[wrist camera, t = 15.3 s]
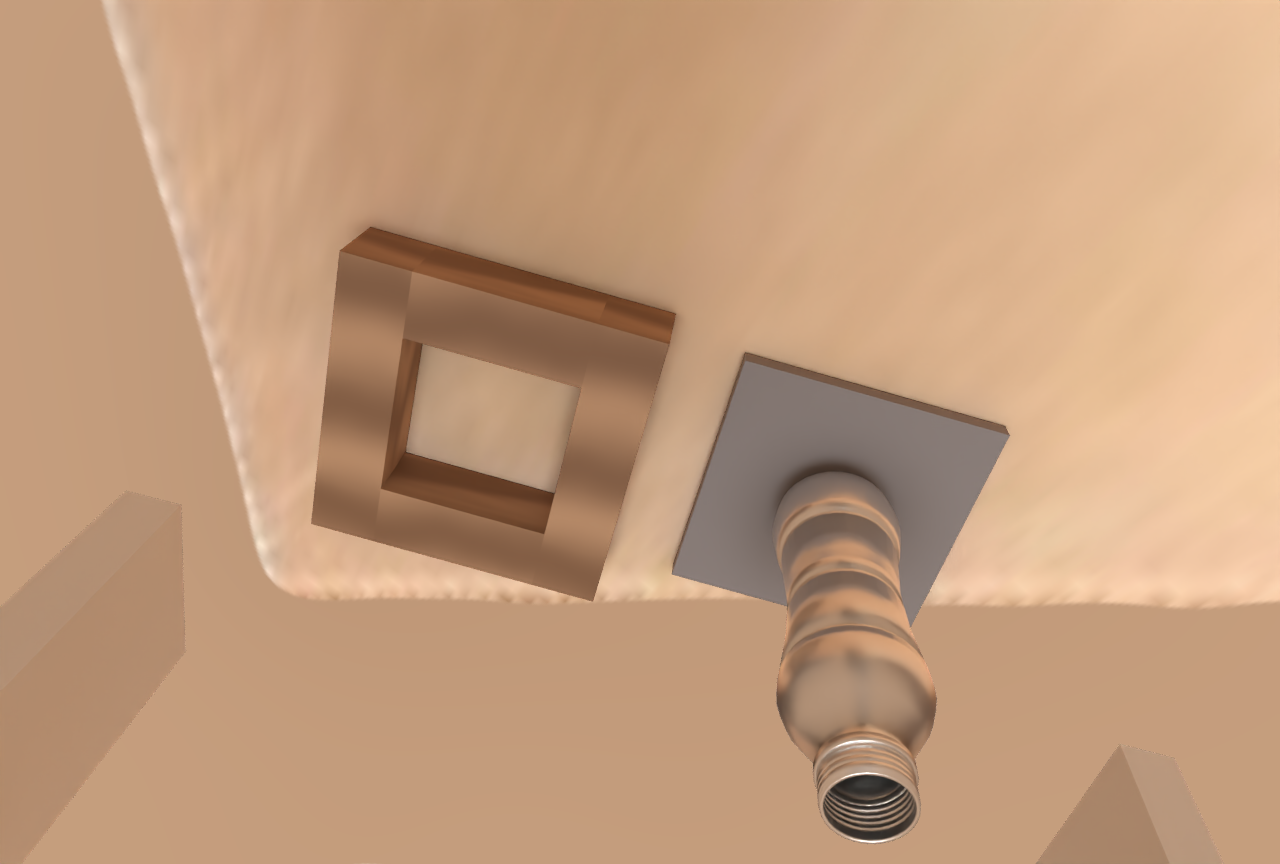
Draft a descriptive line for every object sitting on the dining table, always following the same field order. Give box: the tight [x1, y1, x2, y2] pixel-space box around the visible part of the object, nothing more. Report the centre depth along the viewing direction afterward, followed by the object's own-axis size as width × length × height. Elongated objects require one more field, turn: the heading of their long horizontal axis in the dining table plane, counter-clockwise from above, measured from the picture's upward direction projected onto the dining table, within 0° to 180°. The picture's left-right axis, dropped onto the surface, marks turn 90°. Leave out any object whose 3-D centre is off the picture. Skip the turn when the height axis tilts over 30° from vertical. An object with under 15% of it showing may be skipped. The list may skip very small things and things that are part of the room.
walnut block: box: [311, 227, 676, 601], centre depth 50 cm, size 16×16×4 cm
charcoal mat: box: [672, 353, 1010, 627], centre depth 52 cm, size 14×14×1 cm
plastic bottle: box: [773, 472, 937, 844], centre depth 43 cm, size 6×7×20 cm
